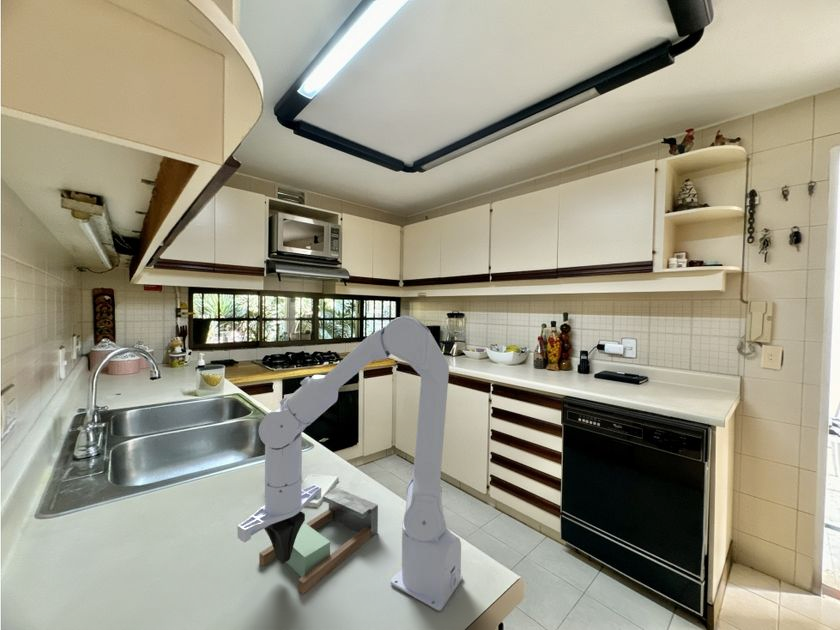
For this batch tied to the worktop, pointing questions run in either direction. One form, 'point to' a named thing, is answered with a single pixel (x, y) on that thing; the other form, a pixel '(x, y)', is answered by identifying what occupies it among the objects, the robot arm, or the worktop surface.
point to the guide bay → (347, 512)
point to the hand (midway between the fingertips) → (283, 558)
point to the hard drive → (320, 481)
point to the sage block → (308, 550)
